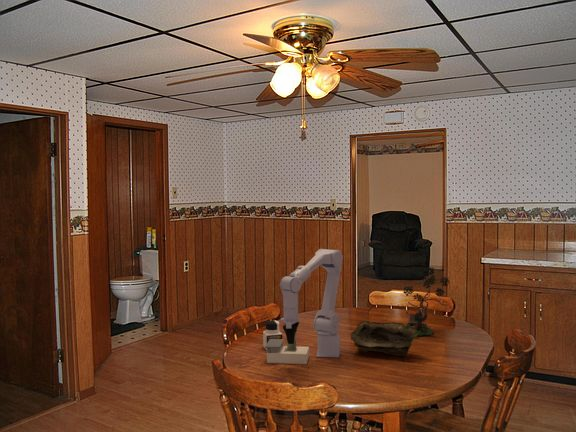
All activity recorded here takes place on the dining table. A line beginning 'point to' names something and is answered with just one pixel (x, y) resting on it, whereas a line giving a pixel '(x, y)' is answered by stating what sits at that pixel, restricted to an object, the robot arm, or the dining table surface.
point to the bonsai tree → (419, 318)
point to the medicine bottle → (271, 332)
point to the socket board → (285, 353)
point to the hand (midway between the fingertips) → (291, 342)
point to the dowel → (292, 345)
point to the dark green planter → (384, 337)
